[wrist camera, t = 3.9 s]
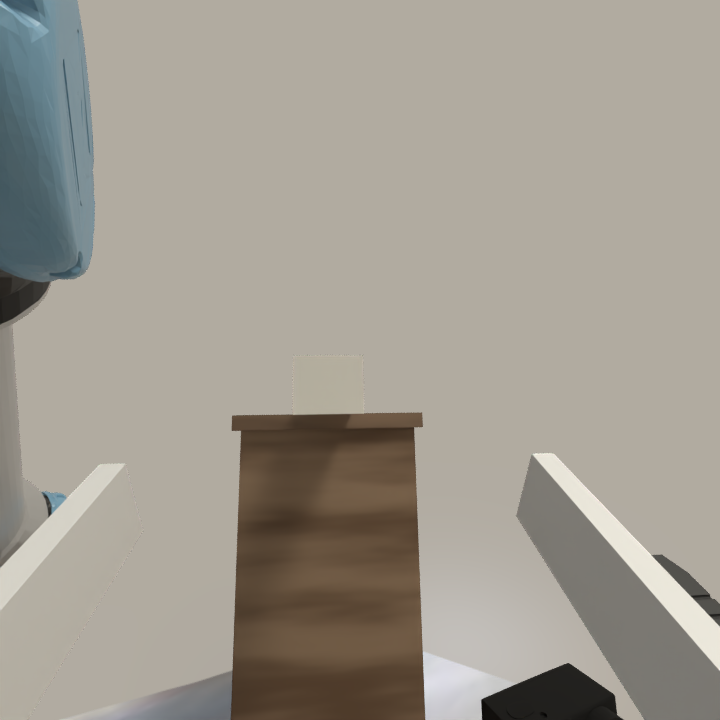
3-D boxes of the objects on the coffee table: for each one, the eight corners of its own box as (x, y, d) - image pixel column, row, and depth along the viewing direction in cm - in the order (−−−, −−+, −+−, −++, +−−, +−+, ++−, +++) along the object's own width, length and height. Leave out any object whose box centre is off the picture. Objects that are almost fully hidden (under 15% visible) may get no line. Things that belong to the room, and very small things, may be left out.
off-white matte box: (364, 413, 15) (363, 353, 15) (292, 414, 15) (293, 352, 15) (342, 413, 40) (342, 391, 41) (316, 414, 40) (316, 391, 41)
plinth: (444, 941, 20) (422, 412, 25) (210, 976, 19) (232, 415, 23) (389, 686, 39) (382, 413, 43) (269, 696, 38) (275, 414, 42)
